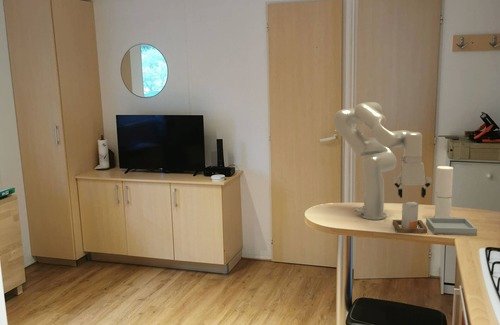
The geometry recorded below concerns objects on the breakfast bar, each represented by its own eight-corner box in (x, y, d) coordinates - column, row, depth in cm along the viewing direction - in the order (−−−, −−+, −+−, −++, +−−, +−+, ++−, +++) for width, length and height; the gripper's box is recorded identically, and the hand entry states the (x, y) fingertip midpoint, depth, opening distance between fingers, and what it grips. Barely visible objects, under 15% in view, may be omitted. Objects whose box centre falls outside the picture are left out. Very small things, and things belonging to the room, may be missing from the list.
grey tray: (433, 234, 211) (434, 227, 210) (425, 223, 225) (426, 217, 225) (476, 235, 208) (477, 228, 208) (465, 224, 223) (466, 218, 222)
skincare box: (407, 230, 216) (409, 205, 214) (401, 228, 220) (402, 203, 217) (417, 228, 219) (418, 203, 216) (410, 226, 222) (411, 201, 220)
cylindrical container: (447, 215, 237) (450, 166, 232) (452, 219, 230) (455, 169, 225) (432, 215, 238) (435, 166, 233) (437, 219, 231) (439, 169, 226)
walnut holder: (397, 232, 214) (397, 228, 213) (392, 223, 226) (392, 219, 226) (427, 233, 212) (427, 229, 212) (420, 224, 225) (421, 220, 224)
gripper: (394, 161, 210) (393, 199, 213) (434, 161, 208) (433, 199, 211) (391, 158, 218) (390, 195, 221) (430, 158, 215) (429, 195, 218)
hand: (411, 197), depth 216 cm, fingers open, 9 cm apart
